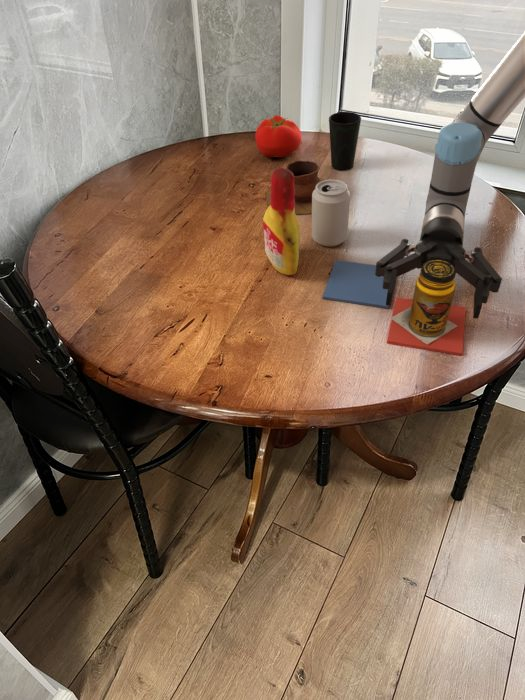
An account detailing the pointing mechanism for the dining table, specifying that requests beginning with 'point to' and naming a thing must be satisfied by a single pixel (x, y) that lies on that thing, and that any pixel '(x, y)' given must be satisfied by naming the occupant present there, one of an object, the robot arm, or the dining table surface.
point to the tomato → (277, 137)
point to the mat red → (444, 344)
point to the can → (330, 212)
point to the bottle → (282, 224)
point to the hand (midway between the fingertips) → (432, 305)
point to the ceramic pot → (302, 185)
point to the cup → (343, 139)
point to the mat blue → (356, 285)
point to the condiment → (430, 302)
